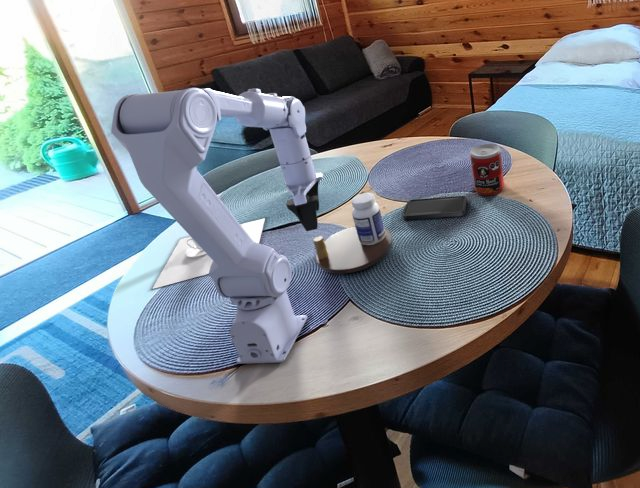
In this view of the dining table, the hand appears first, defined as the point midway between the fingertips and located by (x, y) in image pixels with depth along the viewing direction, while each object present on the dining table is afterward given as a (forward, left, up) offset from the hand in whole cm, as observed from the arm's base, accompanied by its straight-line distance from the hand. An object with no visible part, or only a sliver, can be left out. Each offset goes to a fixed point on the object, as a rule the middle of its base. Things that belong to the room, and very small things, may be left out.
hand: (313, 219), depth 87 cm
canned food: (+27, -34, -11) cm, 45 cm away
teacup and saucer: (+7, +30, -11) cm, 33 cm away
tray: (+2, -6, -9) cm, 11 cm away
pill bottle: (+4, -10, -8) cm, 13 cm away
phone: (+18, -21, -10) cm, 30 cm away
